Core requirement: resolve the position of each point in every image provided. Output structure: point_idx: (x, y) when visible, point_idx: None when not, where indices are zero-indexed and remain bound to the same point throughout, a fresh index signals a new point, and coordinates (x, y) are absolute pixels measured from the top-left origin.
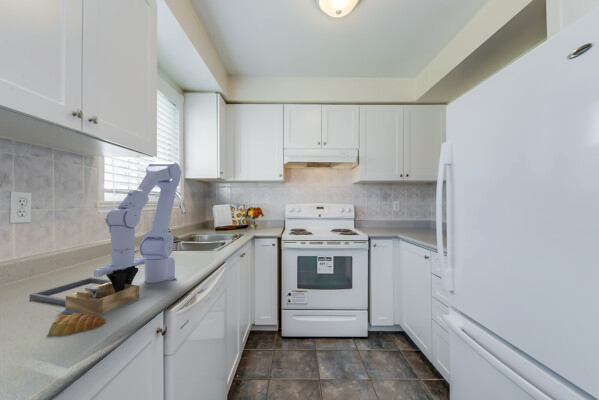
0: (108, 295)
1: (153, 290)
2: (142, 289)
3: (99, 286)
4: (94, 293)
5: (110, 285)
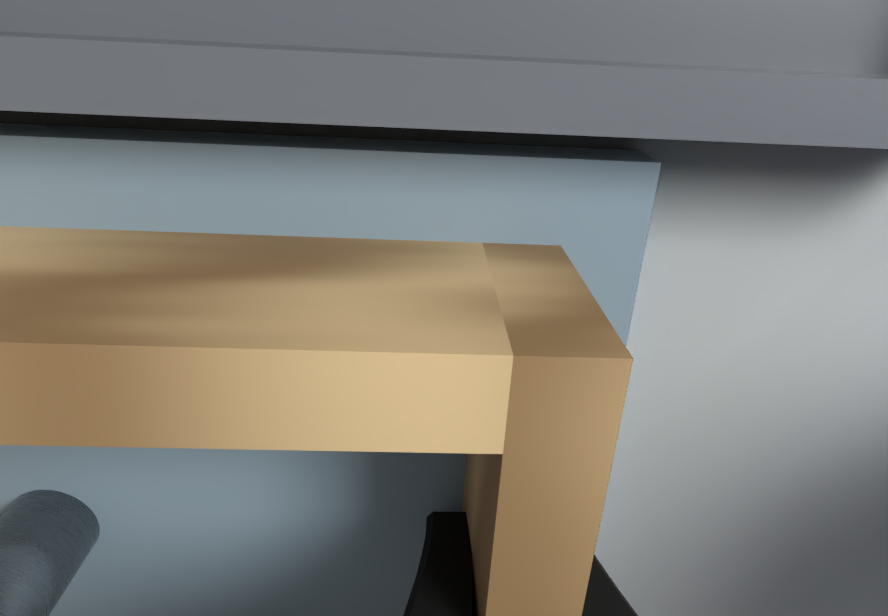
0: None
1: (836, 587)
2: (883, 438)
3: (249, 437)
4: None
5: (494, 456)
